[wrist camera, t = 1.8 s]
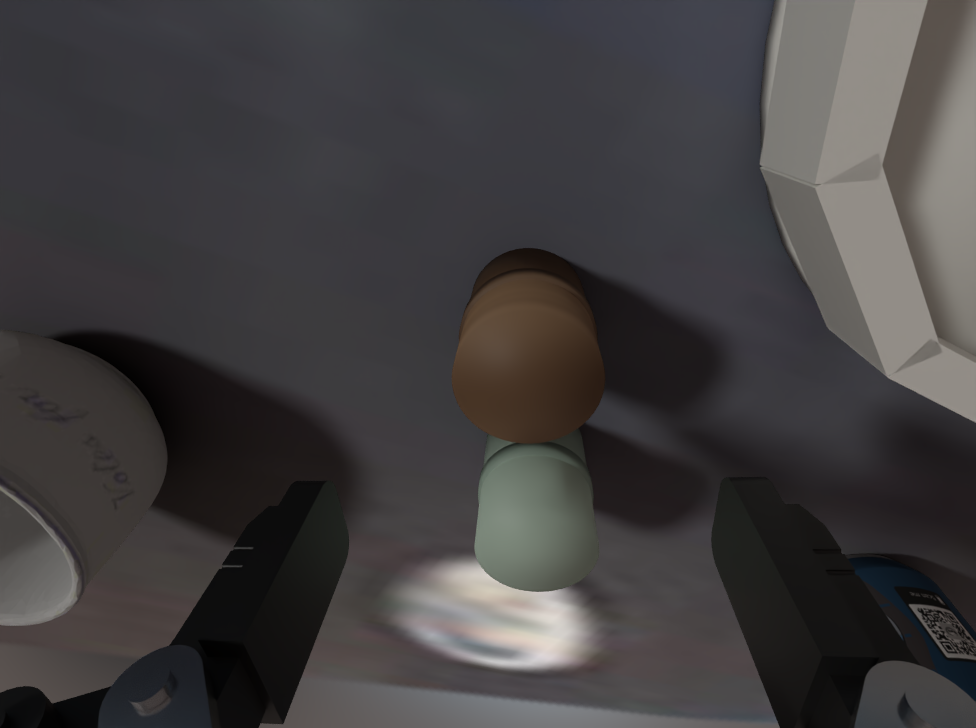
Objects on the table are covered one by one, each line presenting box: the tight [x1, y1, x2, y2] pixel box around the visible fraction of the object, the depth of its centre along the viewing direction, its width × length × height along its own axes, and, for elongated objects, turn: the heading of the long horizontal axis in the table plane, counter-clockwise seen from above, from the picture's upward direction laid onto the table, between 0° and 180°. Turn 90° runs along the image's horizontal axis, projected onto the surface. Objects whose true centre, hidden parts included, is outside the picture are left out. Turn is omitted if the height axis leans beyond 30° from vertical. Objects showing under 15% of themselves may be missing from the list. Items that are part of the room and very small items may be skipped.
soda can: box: [846, 554, 976, 702], centre depth 21 cm, size 7×7×12 cm
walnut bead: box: [452, 248, 605, 444], centre depth 17 cm, size 5×5×6 cm
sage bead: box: [475, 428, 599, 592], centre depth 21 cm, size 5×5×6 cm
